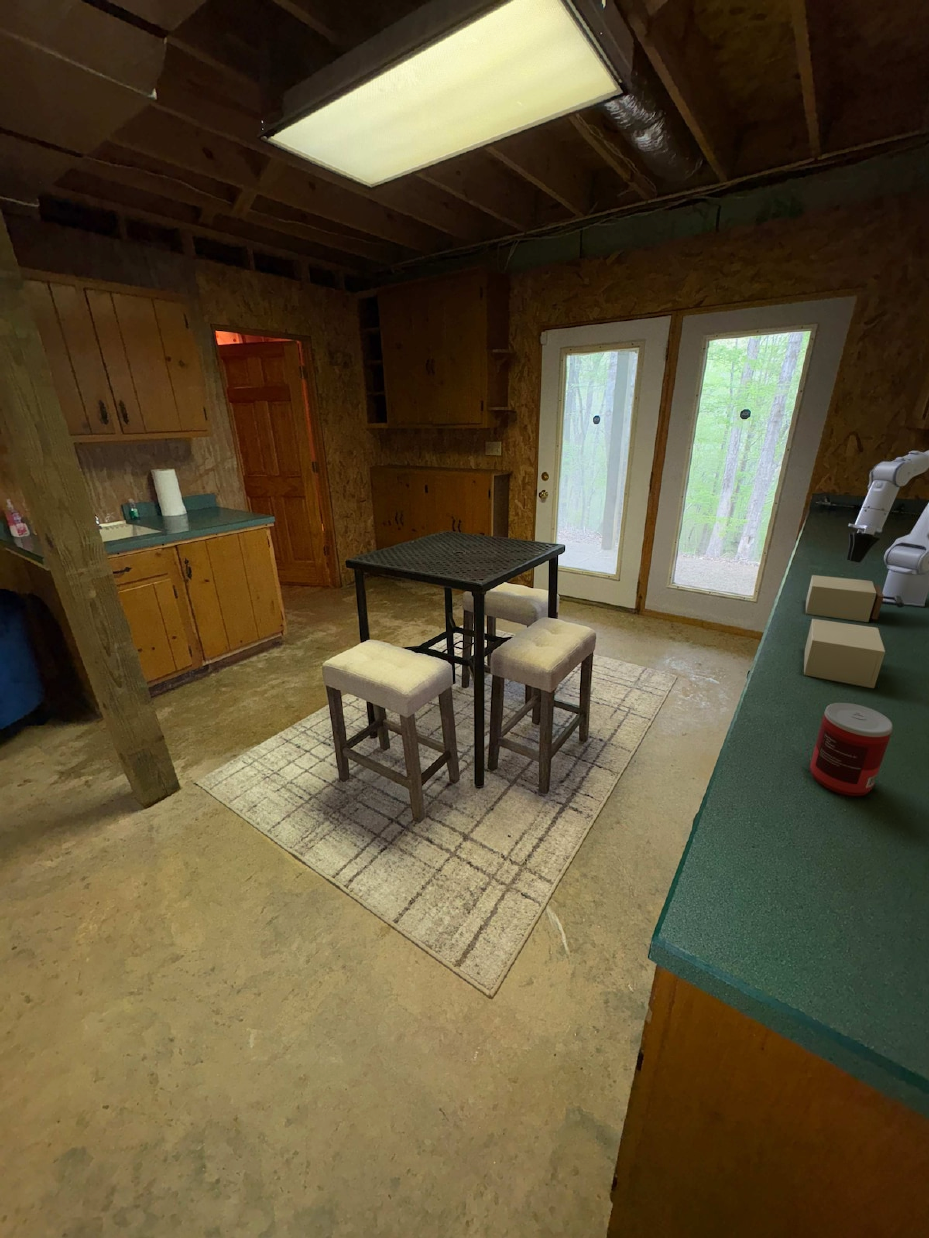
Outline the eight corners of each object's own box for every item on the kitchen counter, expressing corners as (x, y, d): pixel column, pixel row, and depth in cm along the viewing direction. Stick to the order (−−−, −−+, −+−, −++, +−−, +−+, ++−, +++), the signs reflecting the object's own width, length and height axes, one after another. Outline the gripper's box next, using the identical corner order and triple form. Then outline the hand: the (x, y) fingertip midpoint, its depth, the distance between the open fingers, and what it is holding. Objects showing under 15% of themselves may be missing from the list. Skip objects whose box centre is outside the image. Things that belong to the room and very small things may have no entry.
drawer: (895, 610, 131) (902, 588, 129) (900, 622, 123) (908, 599, 121) (818, 600, 140) (823, 579, 138) (818, 611, 132) (824, 589, 130)
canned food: (859, 767, 75) (879, 705, 71) (882, 802, 68) (905, 737, 64) (802, 758, 77) (817, 698, 73) (817, 792, 70) (836, 728, 66)
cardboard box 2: (804, 650, 112) (812, 618, 109) (867, 661, 106) (877, 627, 103) (803, 675, 102) (812, 640, 99) (874, 688, 96) (885, 651, 93)
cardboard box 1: (864, 608, 135) (872, 581, 132) (868, 622, 126) (876, 593, 123) (806, 601, 142) (812, 575, 139) (805, 613, 133) (812, 585, 130)
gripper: (853, 508, 132) (833, 556, 136) (859, 505, 120) (837, 558, 124) (885, 513, 129) (863, 562, 133) (895, 511, 117) (871, 565, 121)
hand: (853, 561), depth 128 cm, fingers open, 7 cm apart
